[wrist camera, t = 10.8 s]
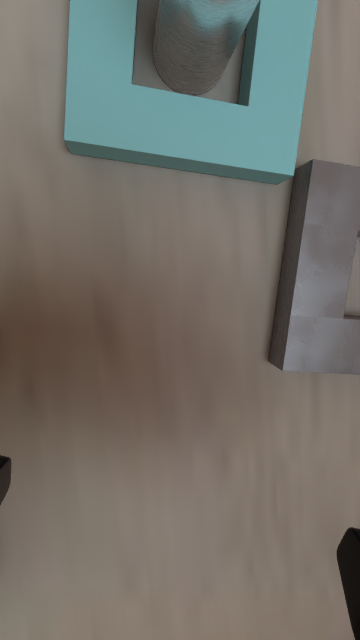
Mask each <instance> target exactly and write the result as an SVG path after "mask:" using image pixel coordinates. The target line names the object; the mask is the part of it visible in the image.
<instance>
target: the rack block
mask: <svg viewBox="0 0 360 640" xmlns="http://www.w3.org/2000/svg"><path fill="white" fill-rule="evenodd" d="M317 3H318V0H259V2H258V4H257V6H256V8H255V10H254V12H253V14H252V16H251V18H250V20H249V22H248V24H247V28H246V37H245V46H244V55H243V64H242V72H241V81H240V90H239V99H238V104H233V103H227V102H222V101H217V100H212V99H206V98H201V97H196V96H191V95H186V94H180V93H175V92H170V91H165V90H159V89H154V88H149V87H144V86H138V85H133V84H132V78H133V63H134V48H135V34H136V19H137V5H138V0H70V14H69V37H68V61H67V84H66V108H65V131H64V141H65V143H66V145H67V147H68V149H69V151H70V153H71V154H78V155H85V156H91V157H98V158H105V159H111V160H118V161H124V162H131V163H138V164H144V165H151V166H158V167H164V168H171V169H178V170H184V171H191V172H197V173H204V174H211V175H217V176H224V177H231V178H237V179H244V180H251V181H257V182H264V183H270V184H279V183H281V182H283V181H285V180H287V179H289V178H290V177H292V176H294V170H295V163H296V156H297V148H298V141H299V134H300V126H301V119H302V112H303V105H304V97H305V90H306V83H307V76H308V68H309V61H310V54H311V46H312V39H313V32H314V25H315V17H316V10H317Z"/></svg>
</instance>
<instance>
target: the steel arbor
mask: <svg viewBox="0 0 360 640" xmlns="http://www.w3.org/2000/svg"><path fill="white" fill-rule="evenodd" d="M258 2H259V0H159V5H158V13H157V21H156V29H155V37H154V45H153V58H154V63H155V66H156V69H157V71H158V73H159V75H160V77H161V78H162V80H163V81H164V82H165V83H166V84H167V85H168V86H169V87H170V88H171V89H173V90H174V91H176V92H178V93H181V94H186V95H191V96H194V95H200V94H203V93H205V92H207V91H209V90H210V89H212V88H213V87H214V86H215V85H216V83H217V82H218V81H219V79H220V77H221V75H222V73H223V71H224V69H225V67H226V65H227V63H228V61H229V59H230V57H231V55H232V54H233V52H234V50H235V48H236V46H237V44H238V42H239V40H240V38H241V36H242V34H243V32H244V30H245V28H246V26H247V24H248V22H249V20H250V18H251V16H252V14H253V12H254V10H255V8H256V6H257V4H258Z"/></svg>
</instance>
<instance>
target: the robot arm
mask: <svg viewBox="0 0 360 640" xmlns="http://www.w3.org/2000/svg"><path fill="white" fill-rule="evenodd" d="M10 480H11V459H10V458H9V457H6V456H1V455H0V505H1V503H2V501H3V499H4V497H5V495H6V493H7V491H8V489H9V486H10ZM337 561H338V566H339V570H340V575H341V580H342V585H343V589H344V594H345V599H346V604H347V608H348V613H349V618H350V622H351V626H352V630H353V633H354V637H355V640H360V529H358V528H353V527H350V528H348V529H347V530H346V532H345V534H344V536H343V538H342V540H341V542H340V544H339V546H338V548H337Z"/></svg>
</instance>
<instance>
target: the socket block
mask: <svg viewBox="0 0 360 640" xmlns="http://www.w3.org/2000/svg"><path fill="white" fill-rule="evenodd" d="M357 236H360V167H356V166H350V165H345V164H339V163H333V162H327V161H321V160H315V159H313V160H311V161H309V162H308V163H306V164H304V165H302V166H300V167H299V168H297V169H295V174H294V181H293V188H292V195H291V203H290V210H289V217H288V224H287V232H286V239H285V246H284V253H283V261H282V268H281V275H280V282H279V290H278V297H277V304H276V312H275V319H274V326H273V333H272V341H271V348H270V355H269V362H270V363H271V364H273V365H274V366H276V367H277V368H279V369H280V370H282V371H294V372H315V373H337V374H359V375H360V317H352V316H344V311H345V305H346V299H347V293H348V287H349V281H350V275H351V269H352V263H353V257H354V251H355V245H356V239H357Z"/></svg>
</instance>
